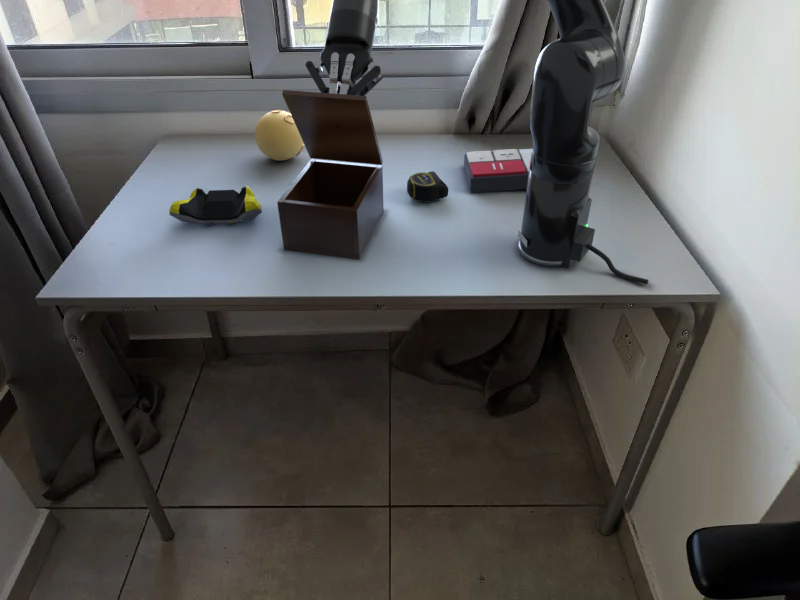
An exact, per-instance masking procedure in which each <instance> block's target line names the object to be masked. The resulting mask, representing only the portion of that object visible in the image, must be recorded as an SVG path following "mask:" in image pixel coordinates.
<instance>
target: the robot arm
mask: <svg viewBox="0 0 800 600" xmlns="http://www.w3.org/2000/svg"><path fill="white" fill-rule="evenodd" d="M545 1H546V3H547V6H548V7H549V10H550V11H551V13H552V17H553V18H554V21H555V24H556V27H557V32H558V34H559V38H557V39H555V40H553V41H551V42H549V43H548V44H547V45H546V46H545V47H544V48H542V50H541V52H540V53H539V56H538V58H537V60H536V63H535V66H534V71H533V76H532V87H531V98H530V99H531V100H530V112H529V129H530V134H531V137H532V147H531V149H532V153H531V161H530V168H529V175H528V183H527V190H526V191H525V192H526V193H525V199H524V206H523V214H522V221H521V229H520V230H518V233H517V237H518V238H519V241H518V247H517V248H518V249H517V250H518V252H519V254H520V255H521V256H522V257H523V258H524V259H525V260H527V261H528V262H530V263H532V264H535V265H538V266H542V267H547V268H548V267H550V268H552V267H553V268H556V267H557V268H558V267H563V268H566V269H569V268H570V267H571V266H572V265H573V263H574V261H575V262H578V263H580V262H582V260H583V258H585V256H586V255H587V254H588V252H589V251H591V252H592V253H593V254H595V255H596V256H598V257H600V259H602V260H603V261H604V262H605V264H607V268H608V269H609V271H611V273H612V274H614V275H616V276H617V277H619V278H621V279H624V280H627V281H631V282H634V283H639V284H644V285H648V283H649V279H647V278H643V277H639V276H634V275H630V274H627V273H624V272H622V271H620V270H619V269H617V268H616V267H615V266H614V264H613V262H612V259H610V258H609V256H607V254H605V253H604V252H603V251H602V250H600V249H598V248H597V247H595V246H593V242H594V236H595V232H596V229H595V228H593V227H589V224H588V220H589V216H590V211H591V207H592V198H591V197H589V196H590V192H591V188H592V183H593V176H594V173H595V172H594V171H595V167H596V162H597V161H596V160H597V156H598V152H599V147H600V143H601V141H600V134H599V133H598V132H597V131H596V130H595V129H594V128H592V127H591V126H589V121H590V114H591V106H592V104H593V103H595V102H597V101H599V100H601V99H604V98H606V97H608V96H610V95H611V94H613V93H614V92H615V91H616V90H617V89H618V88H619V86H620V85H621V84H622V81H623V78H624V75H625V72H626V71H625V69H626V60H625V59H626V58H625V53H624V48H623V45H622V42H621V40H620V37H619V34H618V31H617V29H616V27H615V25H614V22H613V20H612V18H611V15H610V13H609V10H608V8H607V6H606V4H605V1H604V0H545ZM379 4H380V0H332V3H331V9H330V14H329V20H328V26H327V30H326V37H325V43H324V48H323V50H321V52H320V54H319V55H320V56H319V58H317V59H316V60H314V61H311V60H307V61H306V62H305V64H304V65H305V67H306V70H307V72H308V73H309V75H310V76H311V78H312V80H313V81H314V84H315V85H316V87H317V89H318V90H319V93H331V94H345V95H358V96H367V94H368V93H370V92H371V91H372V90H373V88H375V87H376V86H377V85H378V84H379V83H380V82H381V81H382V80H383V79H384V74H383V71H382V68H381V66H380V65H376V64H375V63H374V59H373V57H372V52H373V46H374V41H375V36H376V35H375V34H376V28H377V25H378V21H379V11H380V10H379V9H380V8H379V7H380V6H379ZM323 67H324V69H325V71H326V73H327V75H328V77H329V87H328V86H327V85H326V83H325V82H324V80H323V78H322V77H321V76H323V73H324V71H323Z"/></svg>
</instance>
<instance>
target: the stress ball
mask: <svg viewBox="0 0 800 600" xmlns="http://www.w3.org/2000/svg"><path fill="white" fill-rule="evenodd" d="M254 139H255V143H256V146H257V147H258V149H259V151H260V152H261V153H262V154H263V155H264V156H265V157H267V158H269V159H271V160H274V161H287V160H290V159H292V158H294V157H295V156H296V157H297V156H299V155H300V154H301V152H302V151H303V149H304V148H305V145H304V143H303V140H302V138H301V136H300V134H299V131H298V129H297V127H296V125H295V122H294V120H293V118H292V115H291V113H290V112H289V111H286V110H281V109H272V110H270V111H269V112H266V113H264V114H263V115H262V117H260V119H259V120H258V121H257V123H256V126H255V130H254Z"/></svg>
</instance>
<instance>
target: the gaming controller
mask: <svg viewBox="0 0 800 600" xmlns="http://www.w3.org/2000/svg"><path fill="white" fill-rule="evenodd" d="M262 213H263V211H262V205H261V203H260V202H259V200H258V199H257V197H255V194H254V192H253V190H252V189H251V188H250V187H249V186H248V185H245V186H243V187H241V189H240V191H239V192H238V191H237V190H235V189H216V190H215V189H213V190H208V192H207V193H206V192H205V191H204V190H203V188H202V187H197V188H194V189H193V190H192V191H191V193H190V195H189V198H187V199H179V200H175V201H173V202H172V204H171V205H170V207H169V216H171V217H173V218H174V219H176V220H177V221H180V222H182V223H187V224H188V223H189V224H190V223H199V224H203V225H205V226H213V225H215V224H217V223H229V224H234V223H236V222H241V221H252V220H255V219H256V218H257V217H258V216H259V215H261V214H262Z"/></svg>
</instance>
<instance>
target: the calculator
mask: <svg viewBox="0 0 800 600" xmlns="http://www.w3.org/2000/svg"><path fill="white" fill-rule="evenodd" d="M531 153H532V148H521V149H518V148H507V149H506V148H505V149H494V150H493V151H492V150H478V151H467V152H466V153H464V154H463V169H464V174H465V177H466V181H467V185H468V189H469V192H470V193H485V192H487V193H488V192H500V191H515V190H516V191H517V190H526V191H527V183H528V175H529V168H530V161H531Z"/></svg>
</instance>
